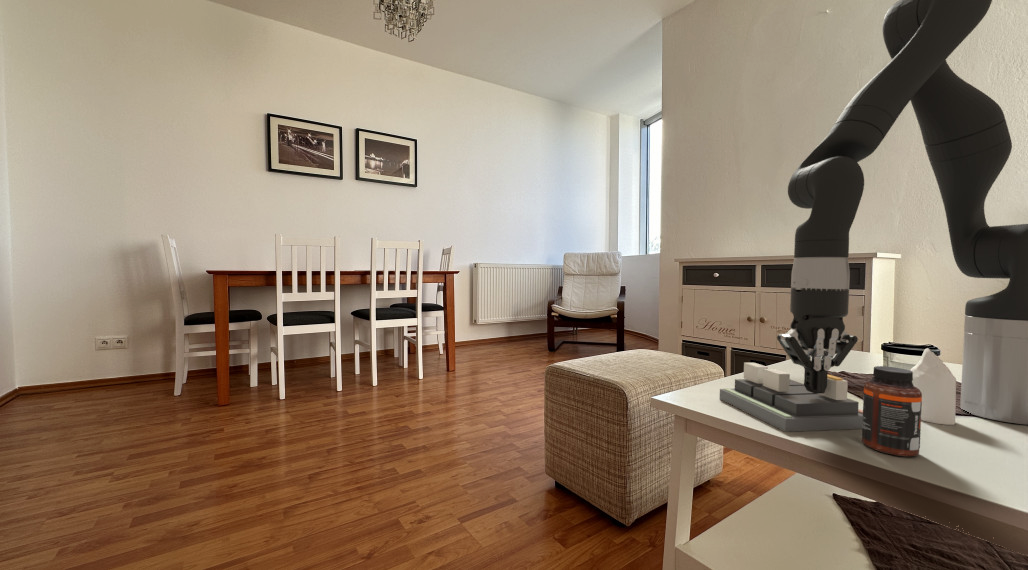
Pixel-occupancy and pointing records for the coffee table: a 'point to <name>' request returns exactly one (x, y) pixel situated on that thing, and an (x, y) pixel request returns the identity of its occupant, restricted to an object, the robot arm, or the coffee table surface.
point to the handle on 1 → (754, 372)
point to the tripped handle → (836, 388)
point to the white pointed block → (935, 389)
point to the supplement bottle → (892, 412)
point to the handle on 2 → (776, 380)
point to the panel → (795, 420)
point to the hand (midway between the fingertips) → (814, 391)
